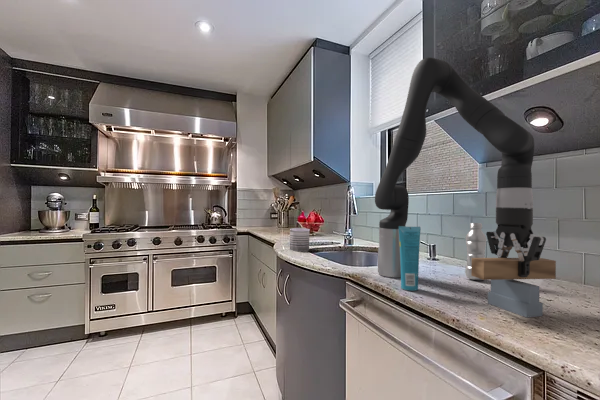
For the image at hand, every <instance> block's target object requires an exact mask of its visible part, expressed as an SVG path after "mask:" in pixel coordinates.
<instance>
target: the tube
mask: <svg viewBox="0 0 600 400" xmlns="http://www.w3.org/2000/svg"><path fill="white" fill-rule="evenodd" d="M399 241H400V263H401V277H400V285H401V286H400V288H401V290H405V291H413V292H414V291H419V274H420V273H419V267H420V266H419V265H420V242H421V226H406V225H405V226H399Z"/></svg>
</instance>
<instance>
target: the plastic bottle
mask: <svg viewBox="0 0 600 400" xmlns="http://www.w3.org/2000/svg"><path fill="white" fill-rule="evenodd" d="M469 229H470V230H469V231H468V232H467V234H465V244H466V253H467V256H466V257H467V258H466V265H465V270H464V271H465V272H464V273H465V276H466V278H467V279H469V280H473V281H484V280H483V279H480V278H477V277H474V276H471V267H472V258H486V257H485V255H486V245H487V235H485V234H486V233H484V232H483V230H482V229H483V224H482V223H481V222H480V223H479V222H470V223H469Z"/></svg>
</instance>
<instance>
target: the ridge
mask: <svg viewBox="0 0 600 400" xmlns="http://www.w3.org/2000/svg"><path fill="white" fill-rule="evenodd" d="M487 304H489V305H491V306H495V307H498V308H499V309H502V310H505V311H507V312H511V313H513V314H516V315H518V316H522V317H524V318H535V317H542V316H543V315H544V314H543V313H544V311H543V308H544V307H543V304H544V303H543V302H540V285H536V284H533V283H528V282H524V281H521V280H518V279H503V280H490V291H487Z"/></svg>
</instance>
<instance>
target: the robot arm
mask: <svg viewBox="0 0 600 400" xmlns="http://www.w3.org/2000/svg"><path fill="white" fill-rule="evenodd" d="M432 93H436V94H438V95H440V96H442V97H443V98H445V99H447V100H448V101H449V102H450V103H452V105H453V107H454V108H455V109H456V111H457V112H458V114H459V115H460V116H461V117H462V118H463V120H464V121H465V122H466V123H467V124H469V125H470V126H471V127H472V128H473V129H475V131H477V132H478V133H479V134H481V135H483V137H484V138H485V140H487V141H488V142H489V144H490V145H491V146H493V147H494V148H495V149H496V150H497V151H498V152H500V153H501V166H500V167H499V169H498V170H497V175H496V176H497V177H496V182H497V184H496V195H495V223H496V225H497V227H496V230H494V231H487V232H486V233H485V234H486V235H485V236H486V240H487V242H488V247H489V250H490V253H491V254H492V255H495V256H496V257H497V258H509V255H510V251H511V250H512V249H514V251H515V252H516V253H517V258H519V260H520V261H518V276H519V277H527V276H528V275H529V274H530V262H531V261H534V260H539V258H541V255H542V252H543V250H544V247H545V244H546V241H547V238H546V237H545V236H539V235H536V234H534V232H533V230H532V226H533V224H534V197H533V195H534V194H533V189H532V187H533V181H532V180H533V177H532V176H533V175H532V166H533V161H534V156H535V155H534V154H535V139H534V136H533V135H532V133H531V132H529V131H528V130H527V129H526V128H524V127H523V126H521V125H520V124H518V123H517V122H515V120H513V119H511V118H509V117H508V116H507V115H505V113H504V112H503V111H502V110H501V109H500V108H498V107H497V106H495V104H493V103H491V102H490V101H489V100H488V99H486V98H485V97H484V96H482V95H481V94H480V93H478V92H477V91H476V90H475V89H473V88H472V87H471V86H470V85H469V84H468V83H466V82H465V80H464V79H463V78H462V77H461V76H460V75H459V74H458V71H456V70H455V69H454V68H453V66H452V65H451V64H450V63H449V62H447V61H445V60H441V59H439V58H435V57H429V56H427V57H424V58H422V59H421V60H420V61H418V63H417V64H416V66H415V68H414V70H413V71H412V75H411V79H410V83H409V88H408V93H407V97H406V102H405V105H404V108H403V109H404V110H403V112H402V116H401V119H400V123H399V126H398V129H397V131H396V135H395V138H394V141H393V144H392V148H391V151H390V155H389V156H388V157H389V158H388V160H387V164H386V167H385V169H384V172H383V174H382V176H381V179H380V181H379V183H378V185H377V188H376V191H375V196H374V203H375V206H376V208H377V209H379V210H382V211H383V210H386V211H387V210H388V211H390V212H389V215H387V217H385V218H382V219H381V220H379V224H378V225H379V227H378V228H379V229H378V230H379V232H378V236H379V237H378V248H377V251H378V252H377V273H378V275H380V276H383V277H388V278H396V279H397V278H399V279H400V278H401V263H400V241H399V226H406V225H407V223H408V217H409V216H408V215H409V214H408V213H409V203H410V201H409V200H410V197H409V191H408V190H407V188H406V187H405V186H403V185H397V182H398V180H399V178H400V177H401V176H402V174H403V173H404V172H405V171H406V170H407V169H408V168H409V166H411V165H412V163H414V162H415V160H416V159H418V157H419V156H420V153H421V150H422V149H423V146H424V143H425V139H426V137H427V120H426V111H427V106H428V102H429V99H430V97H431V94H432Z"/></svg>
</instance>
